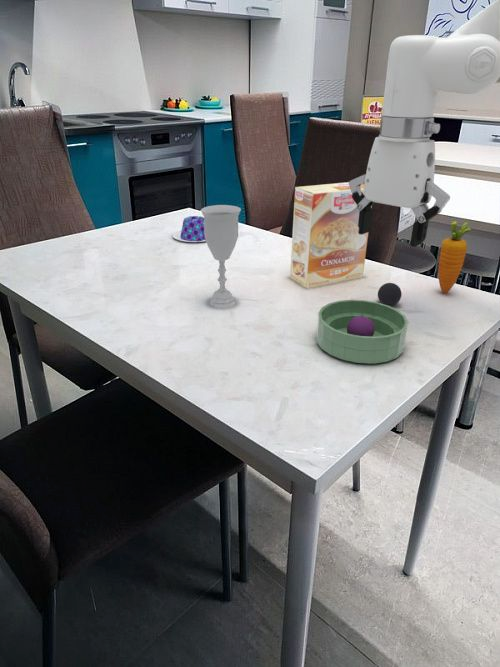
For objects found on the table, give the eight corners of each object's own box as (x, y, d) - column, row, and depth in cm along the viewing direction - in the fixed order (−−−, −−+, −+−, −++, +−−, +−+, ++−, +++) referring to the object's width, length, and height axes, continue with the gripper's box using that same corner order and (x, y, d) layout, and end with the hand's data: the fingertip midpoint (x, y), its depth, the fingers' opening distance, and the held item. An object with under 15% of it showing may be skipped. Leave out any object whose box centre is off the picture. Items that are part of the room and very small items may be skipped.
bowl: (360, 319, 91) (363, 293, 89) (421, 351, 81) (427, 323, 79) (299, 337, 85) (300, 311, 82) (357, 376, 74) (360, 346, 72)
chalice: (224, 293, 101) (223, 203, 93) (248, 303, 97) (249, 209, 89) (196, 303, 97) (192, 209, 89) (220, 314, 93) (218, 216, 84)
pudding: (181, 230, 141) (180, 211, 139) (222, 233, 139) (222, 214, 137) (166, 242, 131) (165, 222, 128) (211, 246, 129) (210, 225, 126)
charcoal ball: (387, 298, 100) (390, 277, 98) (404, 306, 97) (408, 285, 95) (371, 303, 98) (374, 282, 96) (388, 311, 95) (391, 289, 93)
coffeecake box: (306, 289, 104) (313, 193, 95) (288, 278, 109) (293, 186, 100) (364, 278, 110) (375, 186, 101) (344, 267, 115) (353, 180, 106)
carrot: (451, 289, 105) (467, 217, 98) (461, 298, 100) (478, 224, 93) (428, 289, 105) (441, 217, 98) (436, 298, 100) (451, 224, 93)
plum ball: (359, 333, 85) (362, 309, 83) (378, 343, 82) (382, 319, 80) (340, 339, 83) (342, 315, 81) (358, 350, 80) (361, 325, 78)
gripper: (471, 132, 74) (448, 244, 82) (368, 123, 85) (357, 224, 92) (449, 136, 69) (428, 255, 77) (343, 126, 80) (334, 232, 88)
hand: (389, 238), depth 85 cm, fingers open, 9 cm apart
